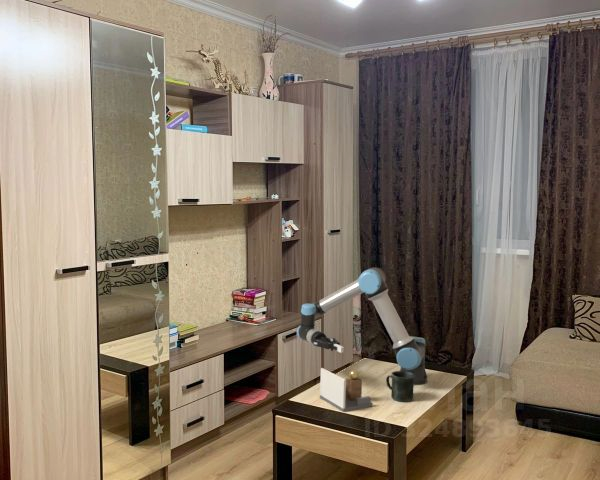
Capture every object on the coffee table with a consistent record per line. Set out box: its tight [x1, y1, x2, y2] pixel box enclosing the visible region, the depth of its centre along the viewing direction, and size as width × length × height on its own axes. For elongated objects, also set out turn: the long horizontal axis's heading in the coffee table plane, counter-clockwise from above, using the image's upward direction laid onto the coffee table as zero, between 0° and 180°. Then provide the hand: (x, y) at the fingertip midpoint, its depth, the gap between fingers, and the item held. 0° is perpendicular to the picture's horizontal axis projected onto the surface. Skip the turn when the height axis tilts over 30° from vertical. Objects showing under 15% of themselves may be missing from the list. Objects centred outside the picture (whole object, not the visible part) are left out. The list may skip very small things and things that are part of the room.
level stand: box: [319, 367, 373, 413], centre depth 287 cm, size 20×16×14 cm
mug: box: [385, 370, 415, 403], centre depth 294 cm, size 11×15×12 cm
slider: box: [344, 369, 363, 400], centre depth 287 cm, size 5×6×13 cm
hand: (342, 350), depth 296 cm, fingers closed
